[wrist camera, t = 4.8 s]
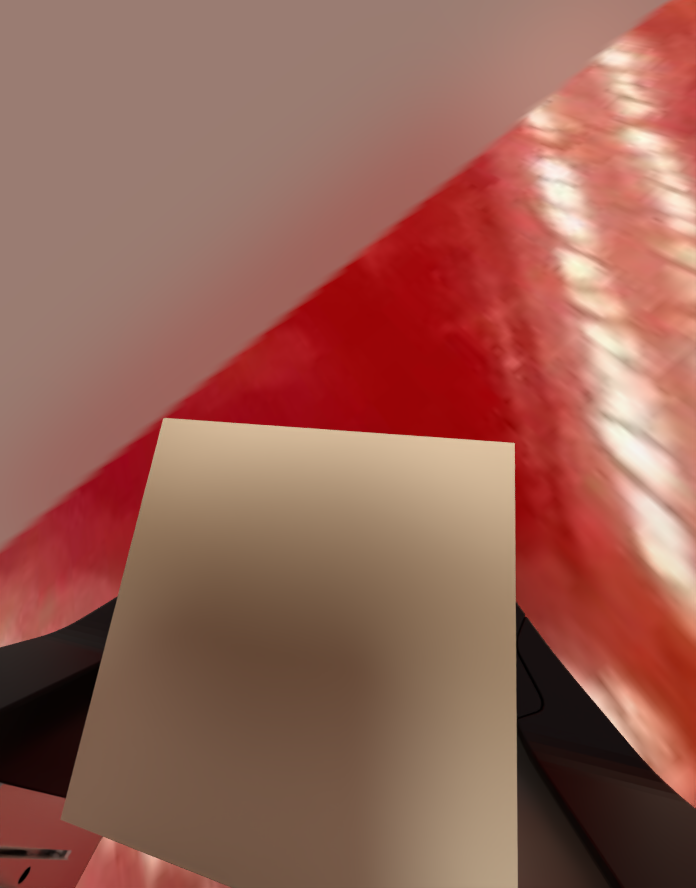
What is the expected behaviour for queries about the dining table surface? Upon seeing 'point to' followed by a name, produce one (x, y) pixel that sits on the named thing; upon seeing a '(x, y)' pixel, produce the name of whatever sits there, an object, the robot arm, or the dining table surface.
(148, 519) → the birch block
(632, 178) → the dining table surface
